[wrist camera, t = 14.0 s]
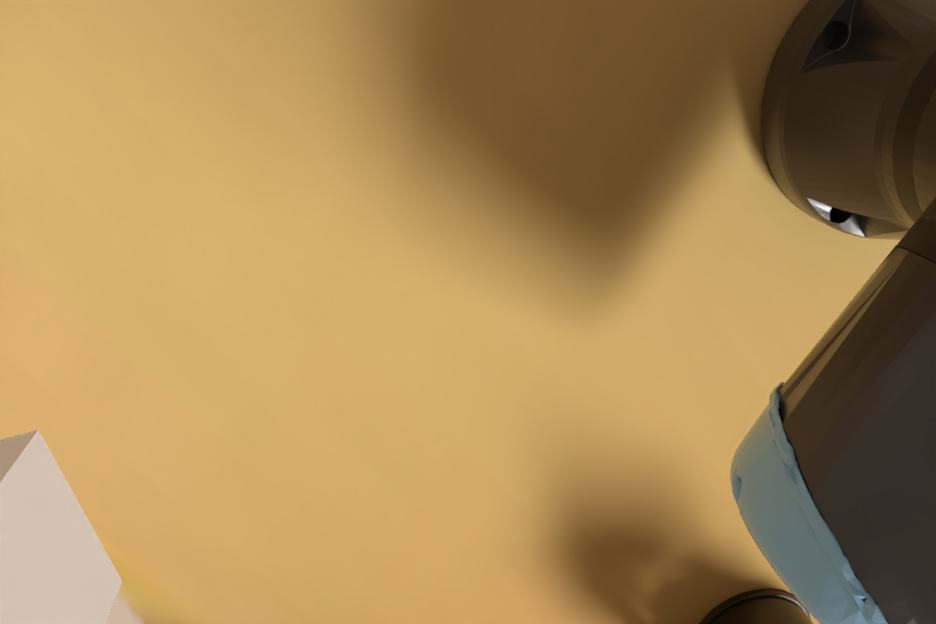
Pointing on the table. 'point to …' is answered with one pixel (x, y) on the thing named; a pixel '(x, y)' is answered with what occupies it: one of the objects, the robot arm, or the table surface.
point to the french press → (760, 609)
